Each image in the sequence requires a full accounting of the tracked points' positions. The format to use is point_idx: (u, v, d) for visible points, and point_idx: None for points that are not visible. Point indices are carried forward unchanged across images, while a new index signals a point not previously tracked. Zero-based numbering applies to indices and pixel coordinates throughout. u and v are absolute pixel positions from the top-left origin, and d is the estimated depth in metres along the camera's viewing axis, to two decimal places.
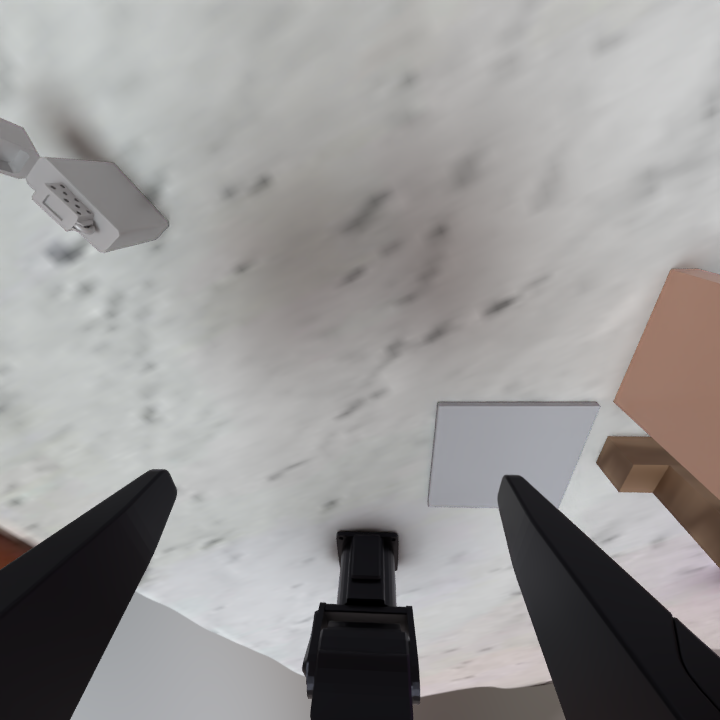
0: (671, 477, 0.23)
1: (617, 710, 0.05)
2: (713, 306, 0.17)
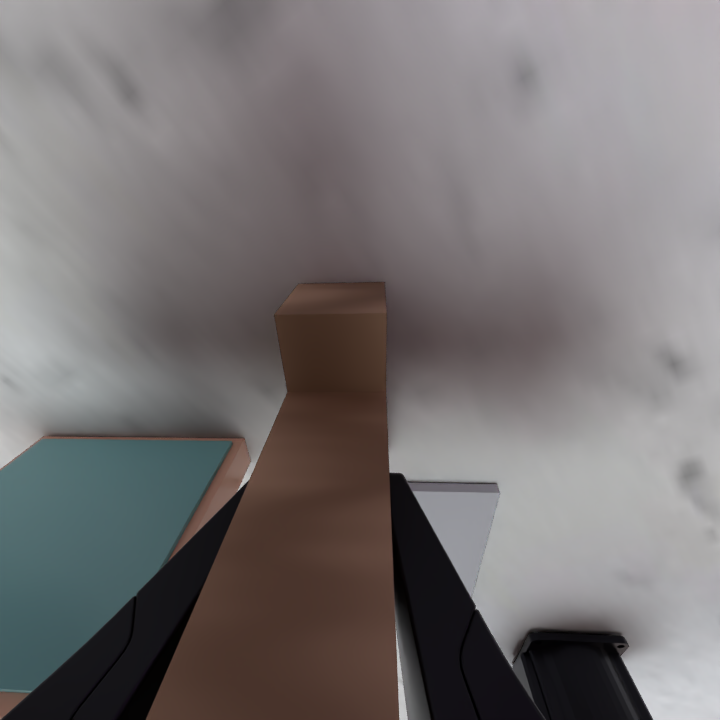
0: None
1: (416, 699, 0.05)
2: None
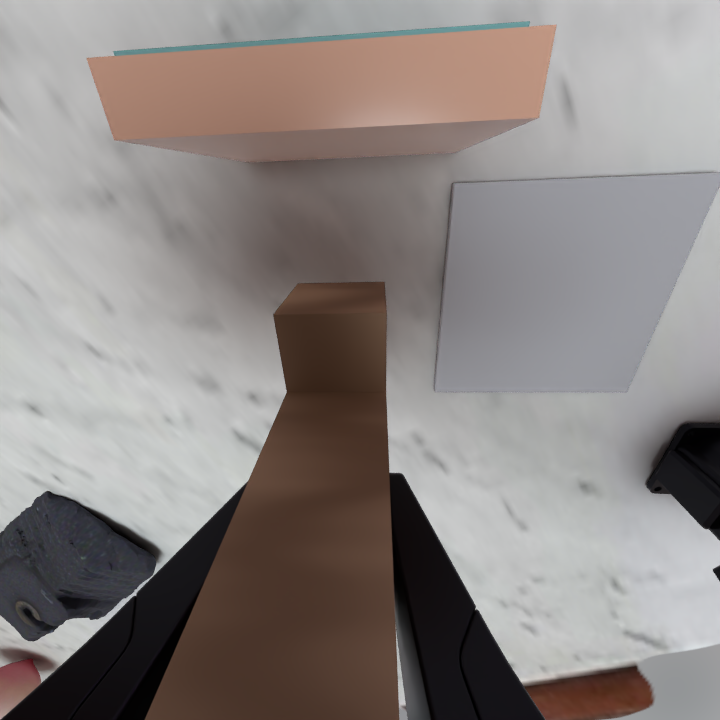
0: None
1: (416, 698, 0.05)
2: (244, 156, 0.12)
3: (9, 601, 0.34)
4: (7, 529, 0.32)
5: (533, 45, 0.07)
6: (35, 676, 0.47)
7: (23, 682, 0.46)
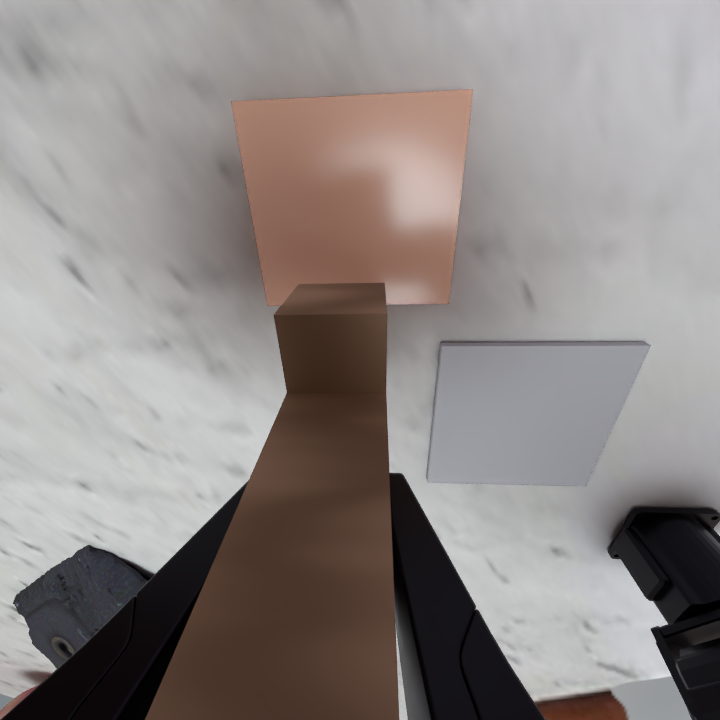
0: None
1: (415, 699, 0.05)
2: (277, 239, 0.16)
3: (46, 636, 0.38)
4: (48, 574, 0.35)
5: None
6: None
7: None
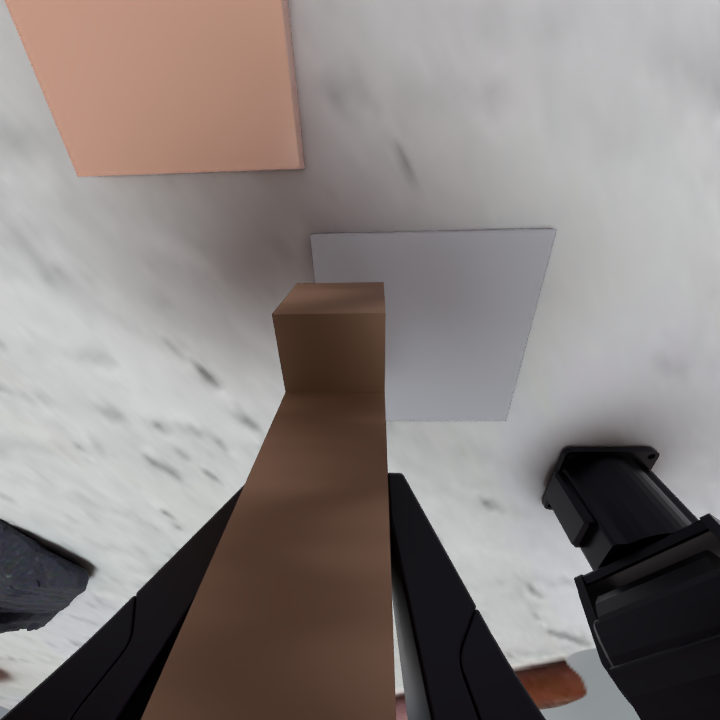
0: None
1: (415, 699, 0.05)
2: (62, 71, 0.12)
3: None
4: None
5: None
6: None
7: None
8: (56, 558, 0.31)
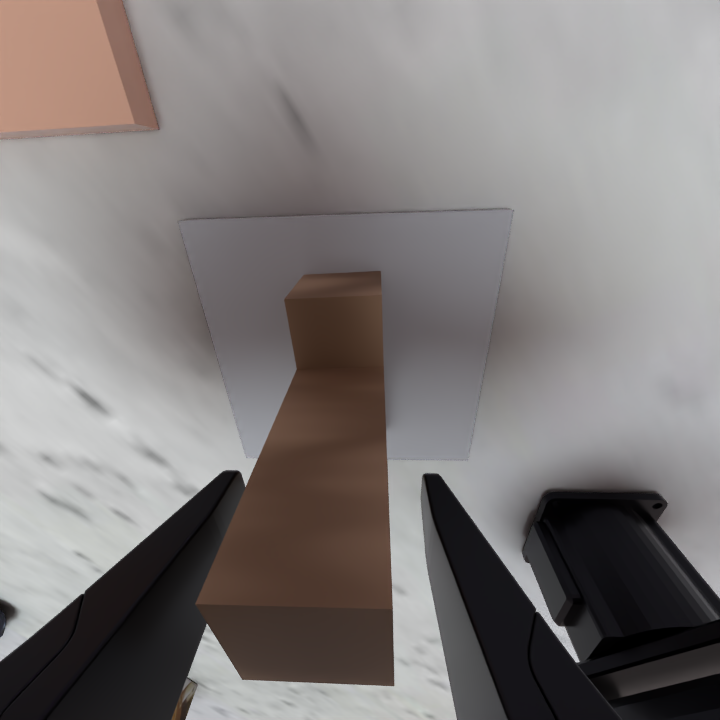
0: None
1: (477, 703, 0.05)
2: None
3: None
4: None
5: None
6: None
7: None
8: None
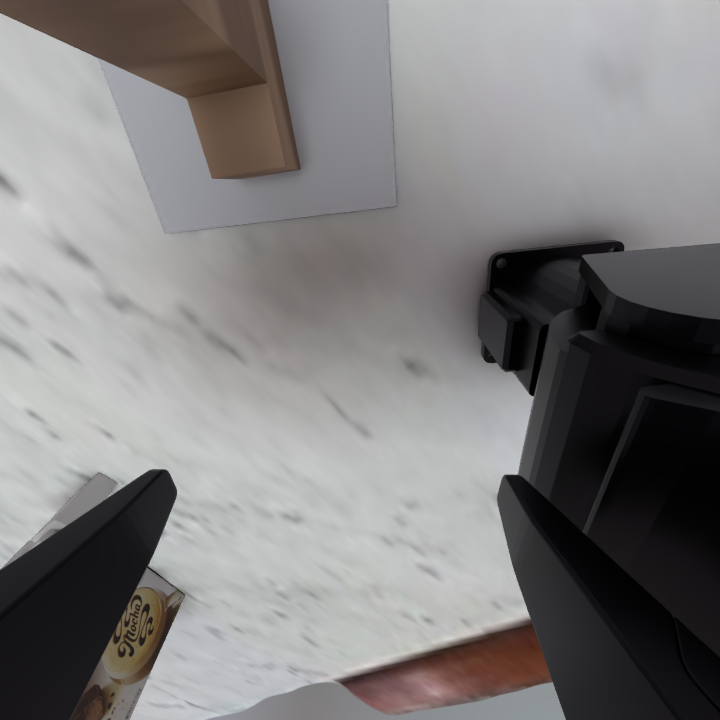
0: (197, 91, 0.11)
1: (617, 710, 0.05)
2: None
3: None
4: None
5: None
6: None
7: None
8: None
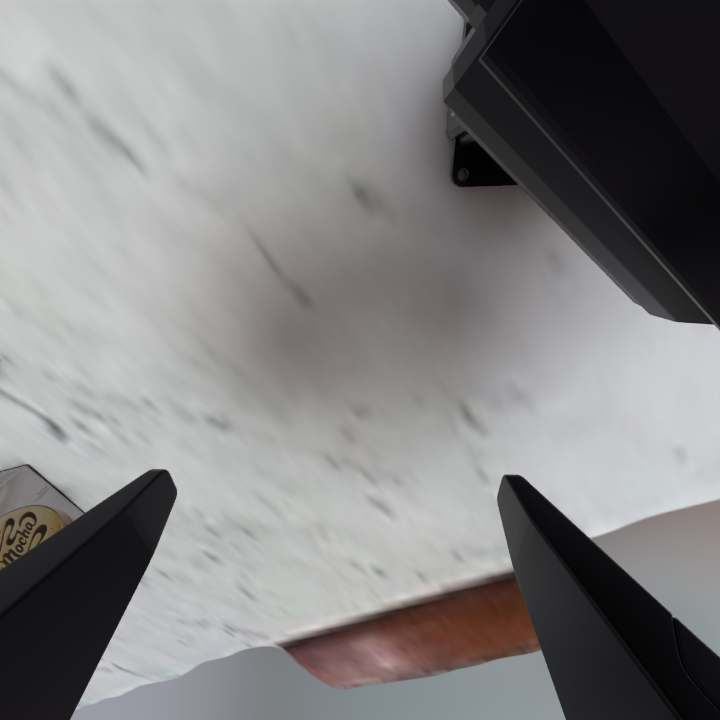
0: None
1: (617, 711, 0.05)
2: None
3: None
4: None
5: None
6: None
7: None
8: None
